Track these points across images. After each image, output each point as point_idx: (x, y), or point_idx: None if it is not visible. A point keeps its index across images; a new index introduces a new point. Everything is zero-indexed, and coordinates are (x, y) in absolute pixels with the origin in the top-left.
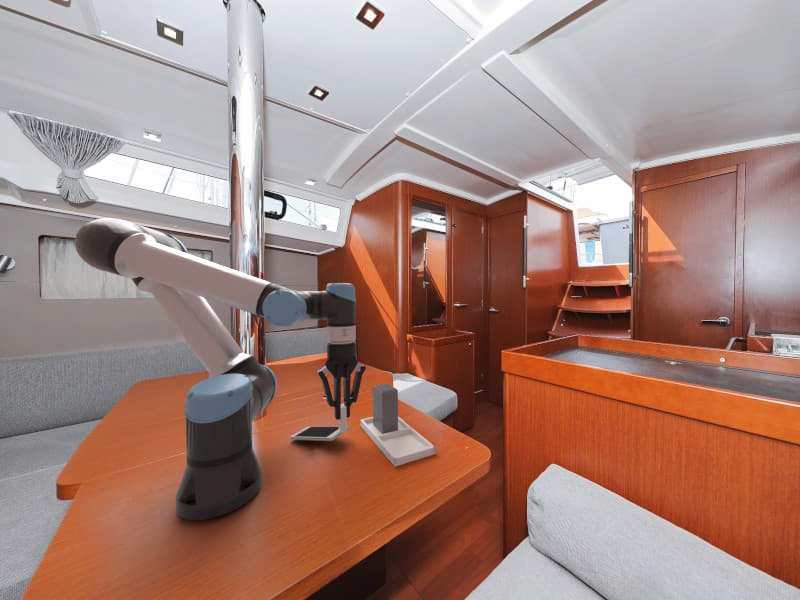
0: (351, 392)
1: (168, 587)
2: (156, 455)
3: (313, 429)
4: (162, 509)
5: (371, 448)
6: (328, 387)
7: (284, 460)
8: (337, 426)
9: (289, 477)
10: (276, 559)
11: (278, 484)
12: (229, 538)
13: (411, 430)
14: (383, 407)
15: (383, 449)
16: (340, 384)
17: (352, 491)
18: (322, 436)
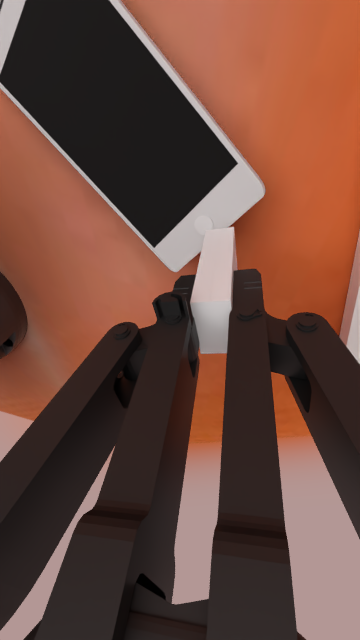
0: (305, 369)
1: (21, 414)
2: None
3: (80, 42)
4: None
5: (323, 269)
6: (76, 494)
7: (39, 238)
8: (214, 130)
9: (81, 313)
10: None
11: (65, 325)
12: (45, 392)
13: None
14: None
15: (348, 315)
16: (175, 518)
17: (212, 387)
18: (137, 224)
